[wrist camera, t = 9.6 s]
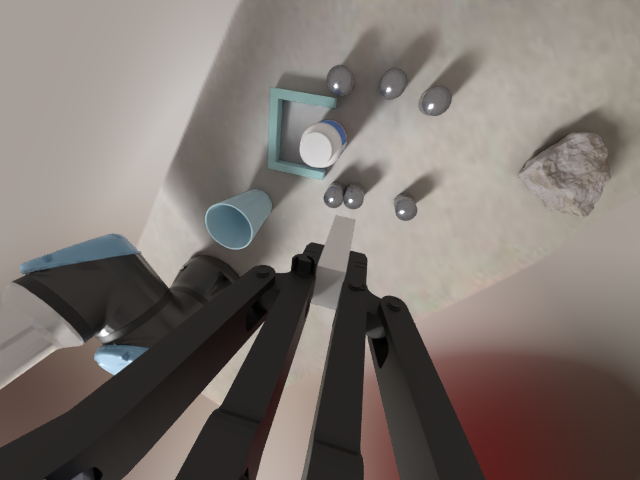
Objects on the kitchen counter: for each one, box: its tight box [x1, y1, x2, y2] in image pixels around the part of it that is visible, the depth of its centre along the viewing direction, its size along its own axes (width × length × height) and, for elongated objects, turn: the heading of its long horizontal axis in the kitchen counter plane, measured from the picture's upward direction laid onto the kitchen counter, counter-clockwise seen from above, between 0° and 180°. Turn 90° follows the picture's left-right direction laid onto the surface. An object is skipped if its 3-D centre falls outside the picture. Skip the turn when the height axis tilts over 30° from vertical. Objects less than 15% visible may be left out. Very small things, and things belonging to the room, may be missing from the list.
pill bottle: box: [299, 120, 347, 168], centre depth 32 cm, size 6×5×10 cm
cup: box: [205, 189, 272, 249], centre depth 39 cm, size 8×8×10 cm
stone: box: [518, 132, 611, 217], centre depth 30 cm, size 8×10×6 cm
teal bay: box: [268, 87, 337, 180], centre depth 36 cm, size 9×11×2 cm
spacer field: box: [324, 65, 452, 221], centre depth 33 cm, size 16×18×4 cm
